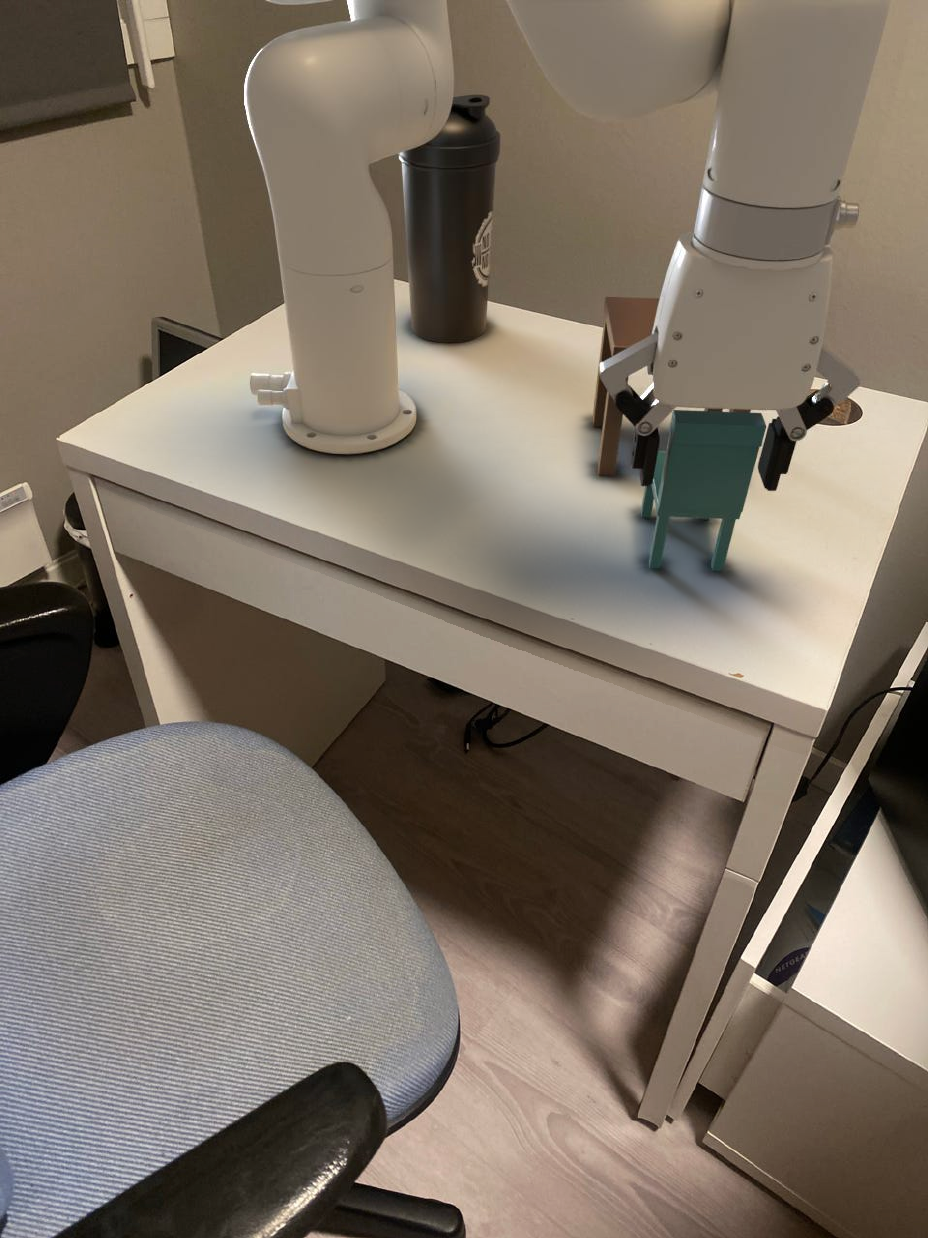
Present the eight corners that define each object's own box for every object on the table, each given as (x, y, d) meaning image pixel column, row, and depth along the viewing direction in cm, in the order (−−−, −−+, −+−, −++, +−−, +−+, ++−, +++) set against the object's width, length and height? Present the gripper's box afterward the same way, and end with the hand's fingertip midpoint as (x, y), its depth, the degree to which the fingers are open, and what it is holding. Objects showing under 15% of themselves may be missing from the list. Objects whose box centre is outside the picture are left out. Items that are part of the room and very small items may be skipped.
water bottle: (484, 350, 97) (491, 111, 82) (393, 341, 99) (383, 105, 83) (500, 312, 105) (509, 87, 89) (415, 304, 106) (410, 82, 91)
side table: (597, 475, 79) (614, 346, 71) (591, 419, 86) (605, 296, 78) (735, 480, 78) (767, 351, 70) (716, 423, 86) (744, 300, 78)
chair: (726, 577, 68) (766, 425, 60) (647, 574, 69) (676, 422, 60) (709, 513, 75) (743, 367, 66) (637, 510, 75) (661, 364, 66)
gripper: (893, 205, 55) (815, 454, 66) (607, 197, 55) (580, 446, 67) (935, 249, 49) (842, 513, 61) (616, 240, 50) (585, 503, 61)
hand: (705, 477), depth 64 cm, fingers open, 8 cm apart
